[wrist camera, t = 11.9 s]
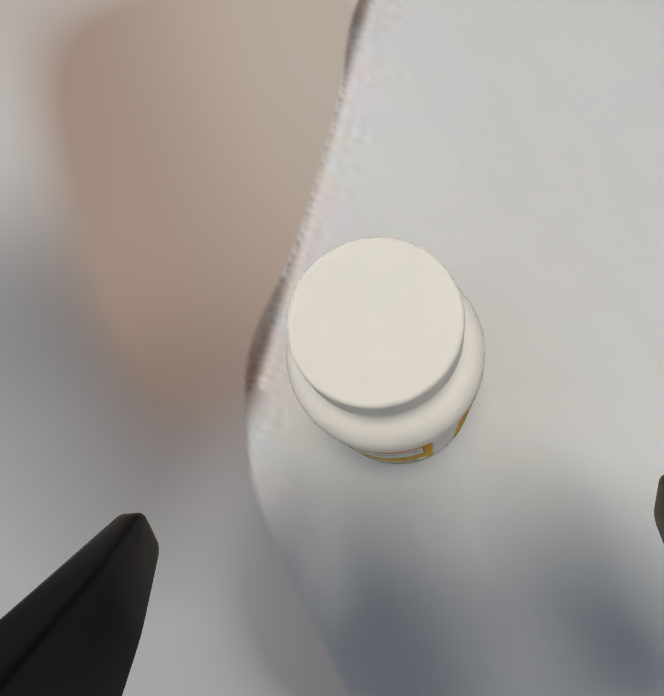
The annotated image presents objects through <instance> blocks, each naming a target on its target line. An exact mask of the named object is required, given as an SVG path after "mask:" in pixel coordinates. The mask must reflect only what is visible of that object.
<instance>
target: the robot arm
mask: <svg viewBox="0 0 664 696" xmlns="http://www.w3.org/2000/svg"><path fill="white" fill-rule="evenodd" d="M654 517H655V521H656V525H657V528H658V530H659V533H660V535H661V538H662V541H663V543H664V475H663V476H661V478H660V480H659V484H658V490H657V496H656V502H655V508H654ZM158 554H159V546H158V542H157V540H156V537H155V535H154V533H153V531H152V529H151V527H150V525H149V523H148V521H147V519H146V517H145V516H144V515H143V514H141V513H130V514H122V515H120V516H118V517H117V518H116V519H114V520H113V521H112V522H111V523H110V524H109V525H108V526H107V527H105V528H104V529H103V530H102V531H101V532H100V533H98V534H97V535H96V536H95V537H94V538H93V539H92V540H90V541H89V542H88V543H87V544H86V545H85V546H83V547H82V548H81V549H80V550H79V551H78V552H77V553H75V554H74V555H73V556H72V557H71V558H70V559H69V560H67V561H66V562H65V563H64V564H63V565H62V566H61V567H59V568H58V569H57V570H56V571H55V572H54V573H53V574H51V575H50V576H49V577H48V578H47V579H46V580H45V581H43V582H42V583H41V584H40V585H39V586H38V587H37V588H35V589H34V590H33V591H32V592H31V593H30V594H29V595H27V596H26V597H25V598H24V599H23V600H22V601H21V602H20V603H18V604H17V605H16V606H15V607H14V608H13V609H11V610H10V611H9V612H8V613H7V614H6V615H5V616H3V617H2V618H1V619H0V696H122V694H123V691H124V688H125V684H126V681H127V678H128V675H129V672H130V668H131V666H132V663H133V659H134V656H135V653H136V650H137V647H138V643H139V640H140V637H141V633H142V628H143V624H144V620H145V616H146V611H147V606H148V602H149V597H150V592H151V588H152V583H153V578H154V574H155V569H156V564H157V560H158Z"/></svg>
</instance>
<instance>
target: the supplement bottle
mask: <svg viewBox="0 0 664 696" xmlns="http://www.w3.org/2000/svg"><path fill="white" fill-rule="evenodd" d="M286 335H287V351H286V360H287V369H288V375H289V380H290V382H291V385H292V388H293V391H294V393H295V395H296V397H297V400H298V402H299V403H300V405H301V406H302V408H303V410H304V411H305V412H306V413H307V415H308V416H309V417H310V418H311V419H312V420H313V421H314V423H316V424H317V425H318V426H319V427H320V428H321V429H322V430H323V431H325V432H326V433H327V434H329V435H330V436H331V437H333V438H335V439H336V440H338V441H340V442H341V443H343V444H345V445H347V446H349V447H350V448H352V449H354V450H356V451H358V452H359V453H361V454H363V455H365V456H367V457H370V458H372V459H375V460H378V461H381V462H386V463H394V464H404V463H412V462H416V461H420V460H423V459H426V458H428V457H430V456H432V455H434V454H436V453H437V452H439V451H440V450H442V449H443V448H444V447H445V446H447V445H448V444H449V443H450V442H451V441H452V439H453V438H454V437H455V436H456V434H457V433H458V432H459V430H460V428H461V427H462V425H463V423H464V421H465V418H466V416H467V414H468V412H469V409H470V407H471V405H472V403H473V401H474V399H475V397H476V395H477V392H478V389H479V386H480V383H481V380H482V376H483V370H484V364H485V342H484V336H483V330H482V327H481V324H480V321H479V318H478V316H477V314H476V312H475V310H474V308H473V306H472V304H471V303H470V301H469V300H468V298H467V297H466V296H465V294H464V293H463V292H462V291H461V290H460V289H459V288H458V286H457V284H456V282H455V280H454V278H453V277H452V275H451V274H450V272H449V271H448V270H447V268H446V267H445V266H444V265H443V264H442V263H441V262H440V261H439V260H438V259H437V258H436V257H434V256H433V255H432V254H431V253H429V252H428V251H426V250H425V249H423V248H421V247H419V246H417V245H415V244H412V243H410V242H407V241H403V240H400V239H395V238H387V237H369V238H362V239H357V240H353V241H350V242H348V243H345V244H342V245H340V246H337V247H335V248H334V249H332V250H330V251H329V252H327V253H325V254H324V255H323V256H321V257H320V258H319V259H318V260H316V261H315V262H314V263H313V264H312V265H311V266H310V267H309V268H308V270H307V271H306V272H305V273H304V274H303V276H302V277H301V279H300V280H299V282H298V284H297V285H296V287H295V289H294V291H293V294H292V296H291V299H290V302H289V306H288V310H287V317H286Z"/></svg>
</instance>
